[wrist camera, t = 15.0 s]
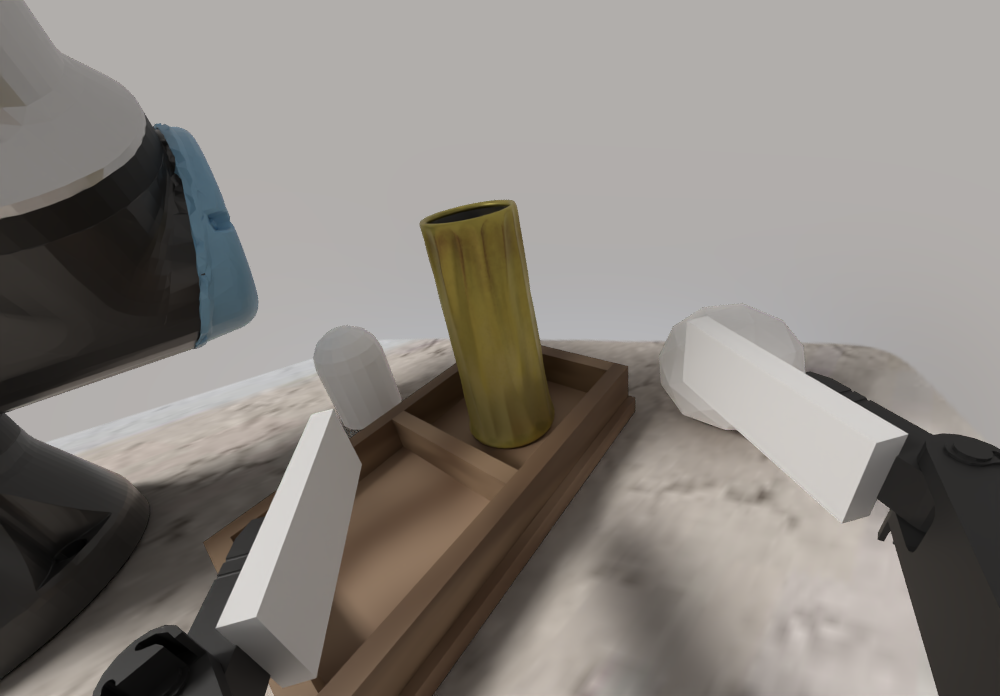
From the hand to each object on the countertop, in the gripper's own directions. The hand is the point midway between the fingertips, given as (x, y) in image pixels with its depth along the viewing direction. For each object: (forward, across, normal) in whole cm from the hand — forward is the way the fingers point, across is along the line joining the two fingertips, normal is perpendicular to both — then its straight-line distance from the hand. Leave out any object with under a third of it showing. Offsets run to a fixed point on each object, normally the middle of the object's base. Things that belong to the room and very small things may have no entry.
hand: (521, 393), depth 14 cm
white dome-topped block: (+17, -11, -10) cm, 23 cm away
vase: (+10, 0, -9) cm, 13 cm away
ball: (+6, +14, -10) cm, 18 cm away
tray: (+6, -4, -10) cm, 13 cm away
